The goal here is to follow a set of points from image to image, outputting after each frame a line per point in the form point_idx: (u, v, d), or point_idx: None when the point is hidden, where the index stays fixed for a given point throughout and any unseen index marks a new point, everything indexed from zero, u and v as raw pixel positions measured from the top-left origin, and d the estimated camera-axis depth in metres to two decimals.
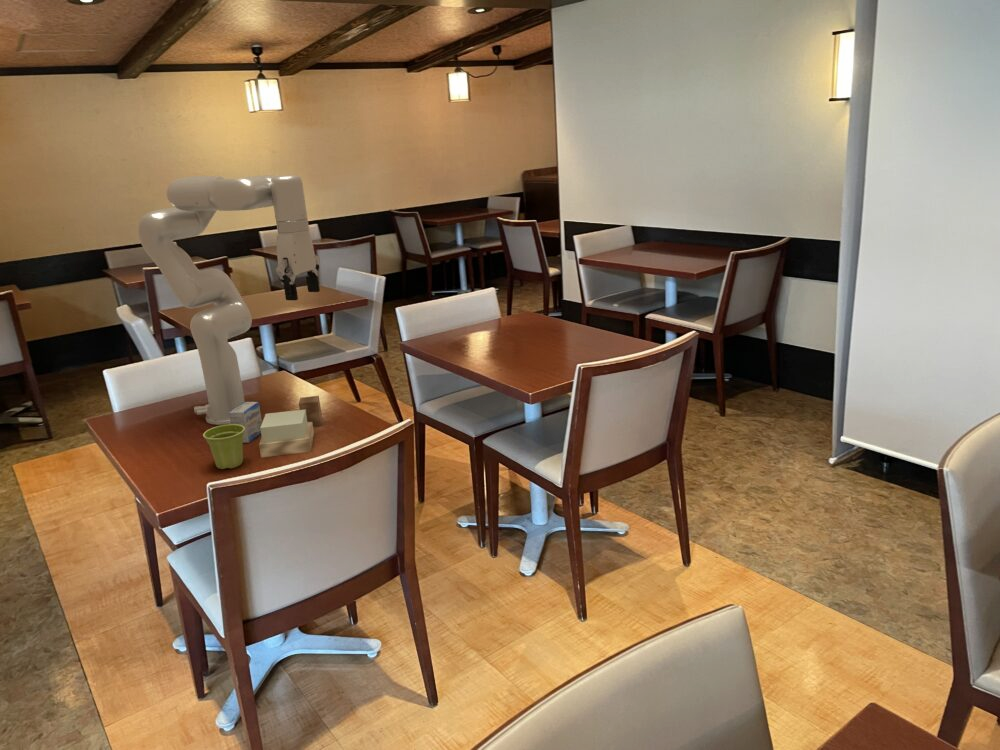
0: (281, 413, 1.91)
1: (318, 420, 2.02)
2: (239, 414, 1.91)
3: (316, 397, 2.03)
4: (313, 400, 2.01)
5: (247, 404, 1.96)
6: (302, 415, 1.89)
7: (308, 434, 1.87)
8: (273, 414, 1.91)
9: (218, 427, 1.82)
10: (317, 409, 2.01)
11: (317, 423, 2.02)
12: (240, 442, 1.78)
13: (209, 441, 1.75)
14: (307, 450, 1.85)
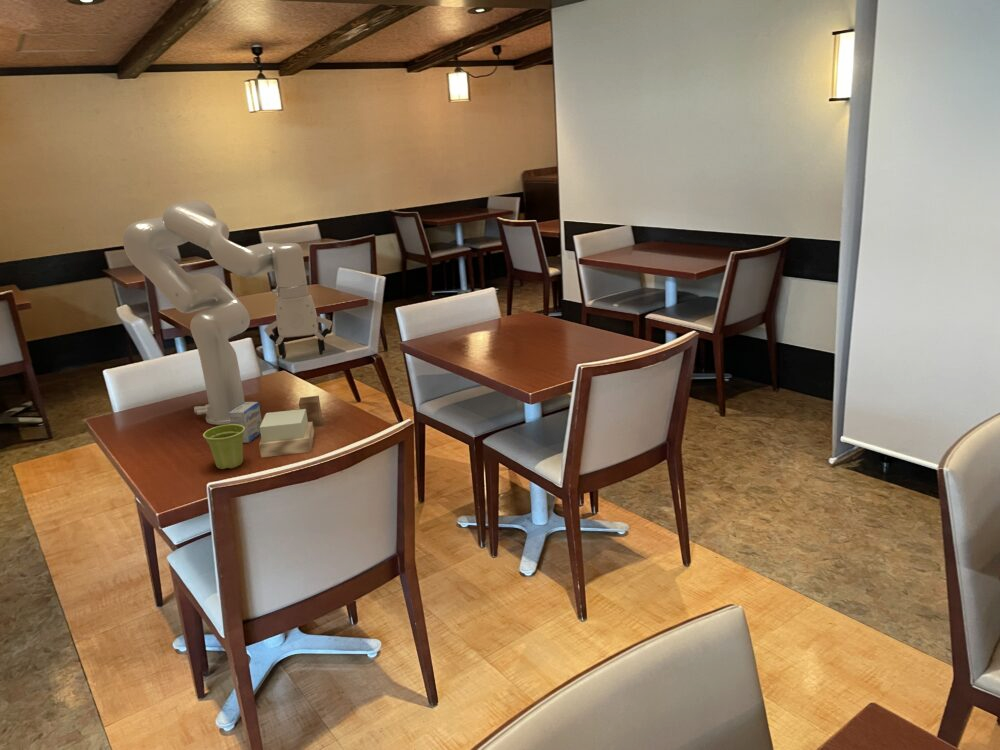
0: (281, 413, 1.91)
1: (318, 420, 2.02)
2: (239, 414, 1.91)
3: (316, 397, 2.03)
4: (313, 400, 2.01)
5: (247, 404, 1.96)
6: (302, 415, 1.89)
7: (308, 434, 1.87)
8: (273, 413, 1.91)
9: (218, 427, 1.82)
10: (317, 409, 2.01)
11: (317, 423, 2.02)
12: (240, 442, 1.78)
13: (209, 441, 1.75)
14: (307, 450, 1.85)
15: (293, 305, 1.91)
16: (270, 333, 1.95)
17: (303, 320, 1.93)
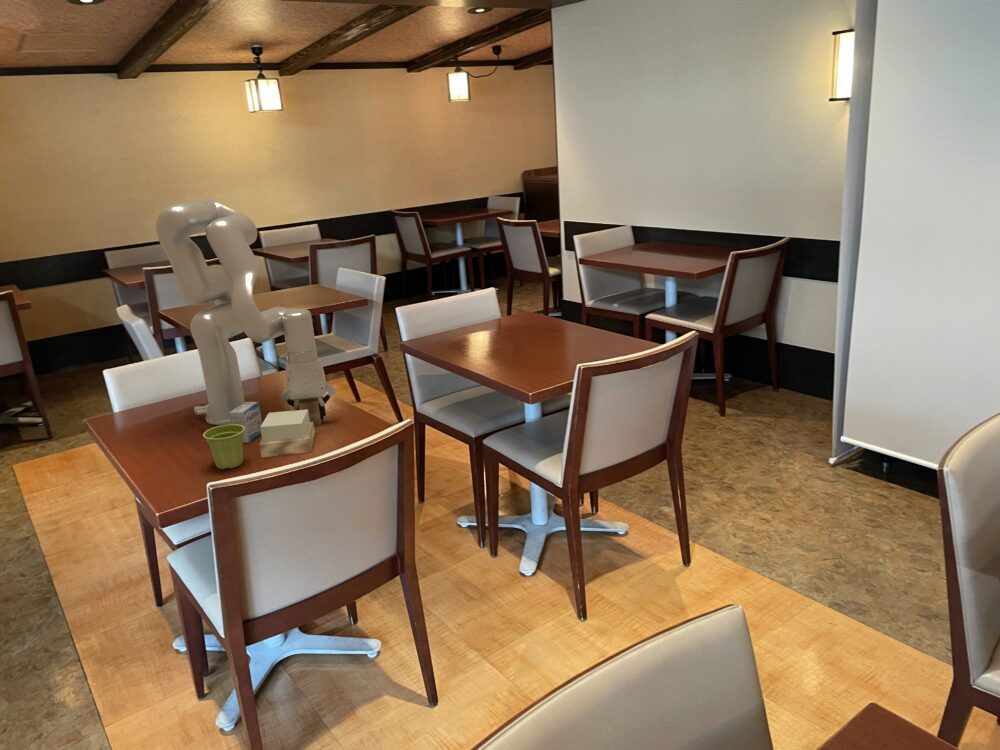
0: (283, 413, 1.91)
1: (318, 420, 2.02)
2: (239, 414, 1.91)
3: None
4: (313, 400, 2.01)
5: (247, 404, 1.96)
6: (303, 415, 1.89)
7: (309, 434, 1.87)
8: (275, 413, 1.91)
9: (218, 427, 1.82)
10: (317, 409, 2.01)
11: (317, 423, 2.02)
12: (240, 442, 1.78)
13: (209, 441, 1.75)
14: (307, 450, 1.85)
15: (303, 369, 1.97)
16: (287, 399, 2.00)
17: (312, 383, 1.98)
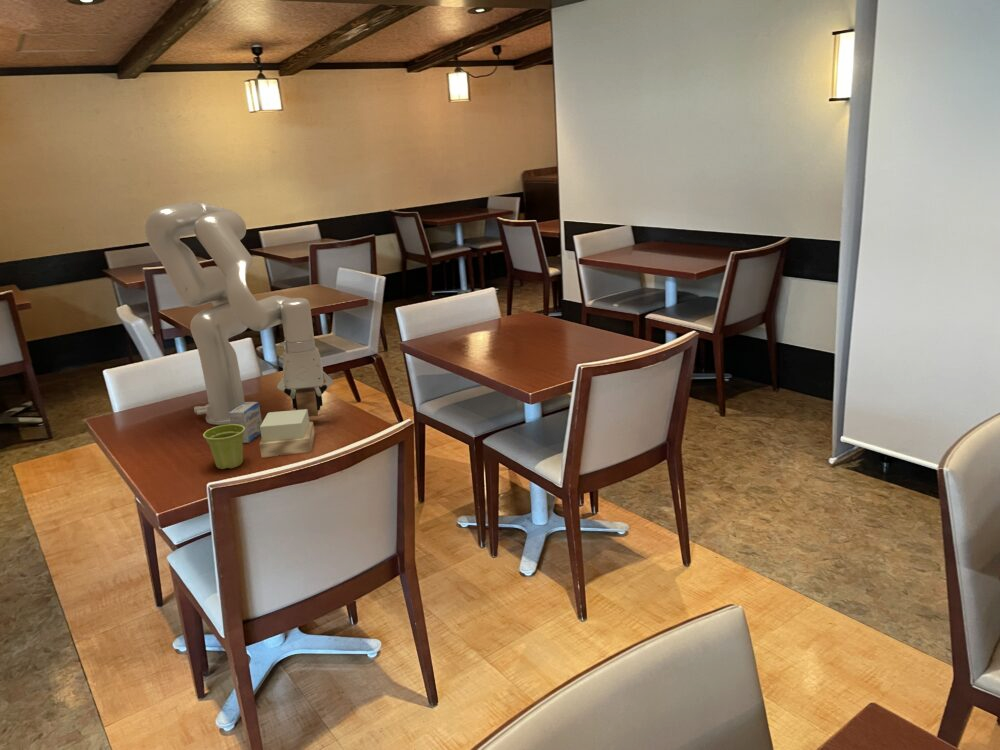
0: (283, 412, 1.92)
1: (315, 410, 2.01)
2: (239, 414, 1.91)
3: None
4: (310, 390, 2.00)
5: (247, 404, 1.96)
6: (303, 415, 1.89)
7: (308, 434, 1.87)
8: (275, 413, 1.91)
9: (218, 427, 1.82)
10: (314, 399, 2.00)
11: (313, 413, 2.01)
12: (240, 442, 1.78)
13: (209, 441, 1.75)
14: (307, 450, 1.85)
15: (300, 359, 1.96)
16: (283, 388, 2.00)
17: (309, 373, 1.97)
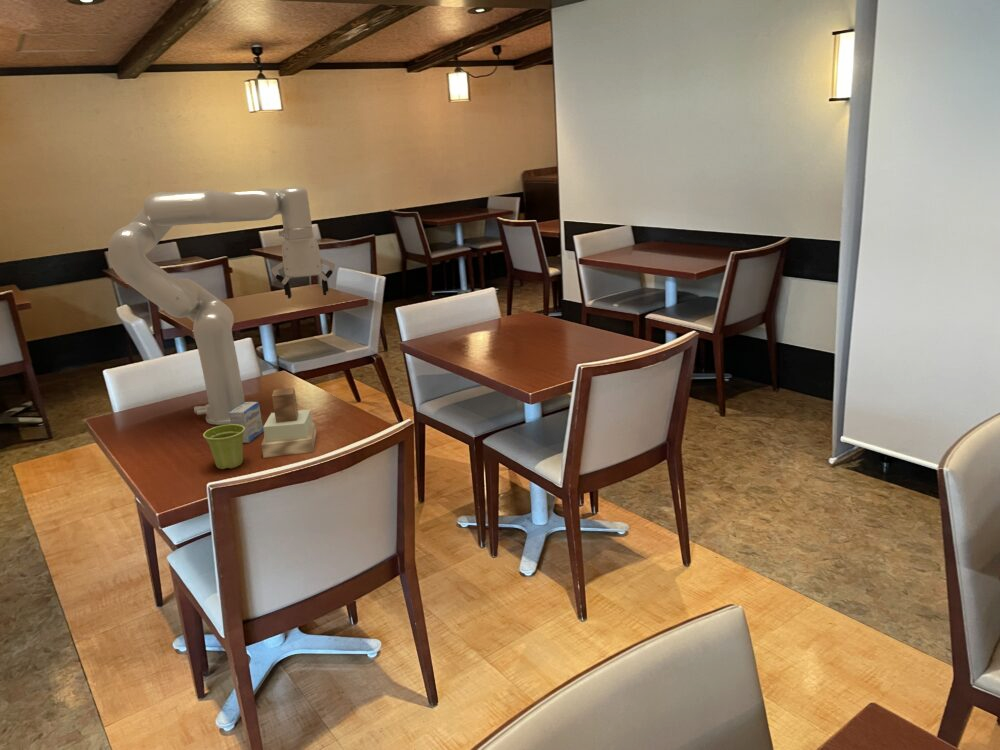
0: None
1: (294, 414, 1.85)
2: (239, 414, 1.91)
3: (291, 389, 1.87)
4: (288, 392, 1.85)
5: (247, 404, 1.96)
6: (306, 415, 1.89)
7: (310, 434, 1.87)
8: None
9: (218, 427, 1.82)
10: (292, 402, 1.84)
11: (292, 417, 1.86)
12: (240, 442, 1.78)
13: (209, 441, 1.75)
14: (309, 450, 1.85)
15: (299, 246, 2.02)
16: (276, 273, 2.05)
17: (308, 261, 2.03)
